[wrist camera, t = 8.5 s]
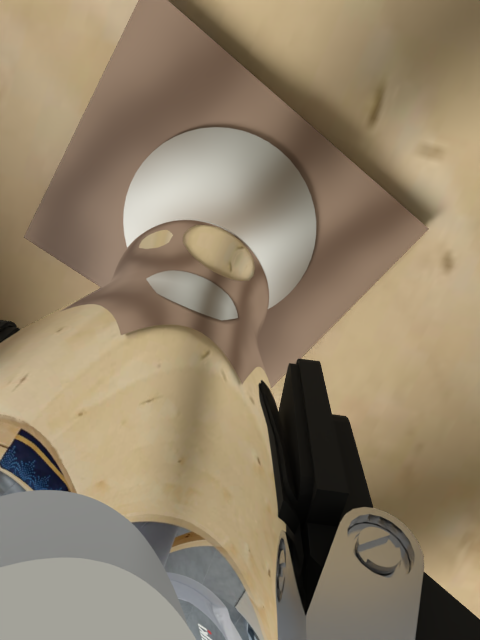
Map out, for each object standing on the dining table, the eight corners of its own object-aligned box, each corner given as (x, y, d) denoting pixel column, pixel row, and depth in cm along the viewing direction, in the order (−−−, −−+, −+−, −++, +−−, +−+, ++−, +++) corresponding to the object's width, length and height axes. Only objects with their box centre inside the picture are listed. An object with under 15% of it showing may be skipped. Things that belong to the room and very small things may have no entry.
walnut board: (421, 224, 25) (430, 230, 24) (265, 384, 31) (265, 396, 30) (153, -11, 20) (145, -20, 19) (33, 232, 27) (21, 238, 25)
